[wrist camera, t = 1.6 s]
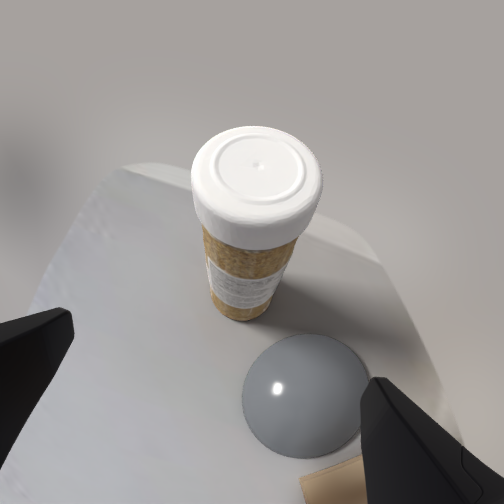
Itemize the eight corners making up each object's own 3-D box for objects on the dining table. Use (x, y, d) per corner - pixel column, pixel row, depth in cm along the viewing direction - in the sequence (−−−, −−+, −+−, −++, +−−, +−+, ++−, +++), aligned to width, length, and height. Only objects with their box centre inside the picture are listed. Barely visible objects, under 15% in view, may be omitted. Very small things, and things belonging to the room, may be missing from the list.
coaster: (370, 442, 17) (373, 443, 17) (247, 463, 16) (247, 465, 16) (358, 328, 21) (361, 327, 20) (237, 340, 20) (237, 338, 20)
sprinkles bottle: (230, 253, 23) (236, 107, 11) (283, 282, 22) (343, 153, 10) (198, 302, 21) (160, 182, 9) (253, 334, 20) (292, 249, 8)
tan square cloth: (399, 508, 14) (405, 511, 13) (318, 544, 13) (322, 549, 12) (385, 442, 17) (392, 444, 16) (298, 478, 16) (301, 481, 15)
